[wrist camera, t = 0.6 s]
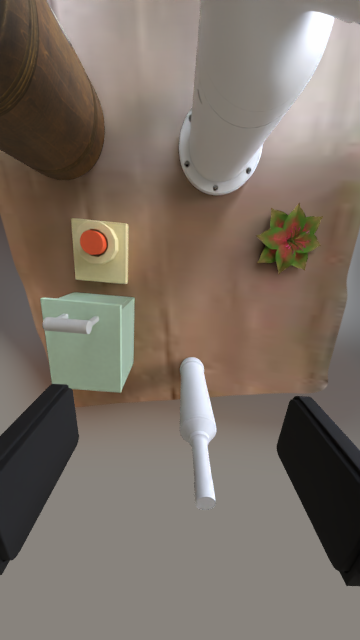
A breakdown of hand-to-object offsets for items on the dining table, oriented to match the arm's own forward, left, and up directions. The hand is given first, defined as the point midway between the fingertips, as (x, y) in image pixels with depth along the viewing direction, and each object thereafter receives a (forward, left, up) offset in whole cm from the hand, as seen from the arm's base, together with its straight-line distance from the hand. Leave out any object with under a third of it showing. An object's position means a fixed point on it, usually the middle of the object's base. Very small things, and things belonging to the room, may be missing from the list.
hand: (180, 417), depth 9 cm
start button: (-7, -14, -28) cm, 32 cm away
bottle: (+17, +4, -31) cm, 36 cm away
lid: (+9, -15, -22) cm, 28 cm away
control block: (-5, -14, -31) cm, 35 cm away
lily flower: (-10, +18, -31) cm, 38 cm away
